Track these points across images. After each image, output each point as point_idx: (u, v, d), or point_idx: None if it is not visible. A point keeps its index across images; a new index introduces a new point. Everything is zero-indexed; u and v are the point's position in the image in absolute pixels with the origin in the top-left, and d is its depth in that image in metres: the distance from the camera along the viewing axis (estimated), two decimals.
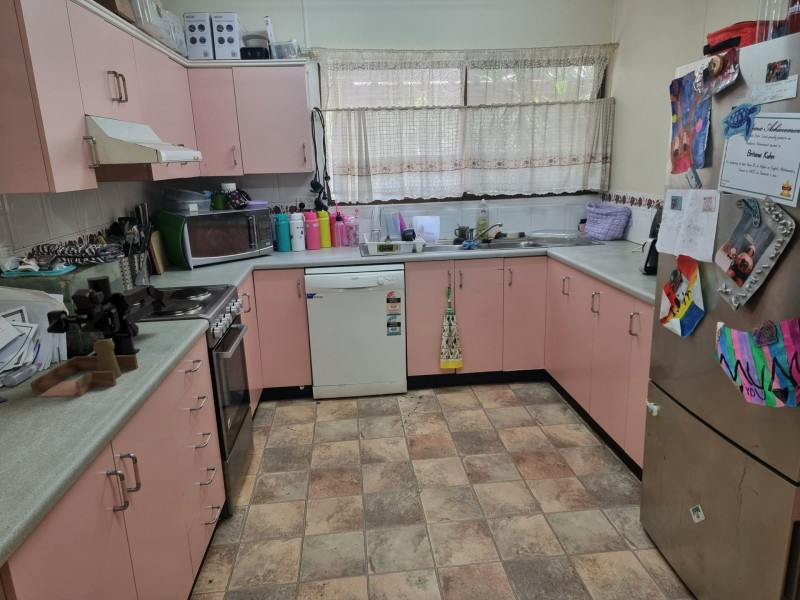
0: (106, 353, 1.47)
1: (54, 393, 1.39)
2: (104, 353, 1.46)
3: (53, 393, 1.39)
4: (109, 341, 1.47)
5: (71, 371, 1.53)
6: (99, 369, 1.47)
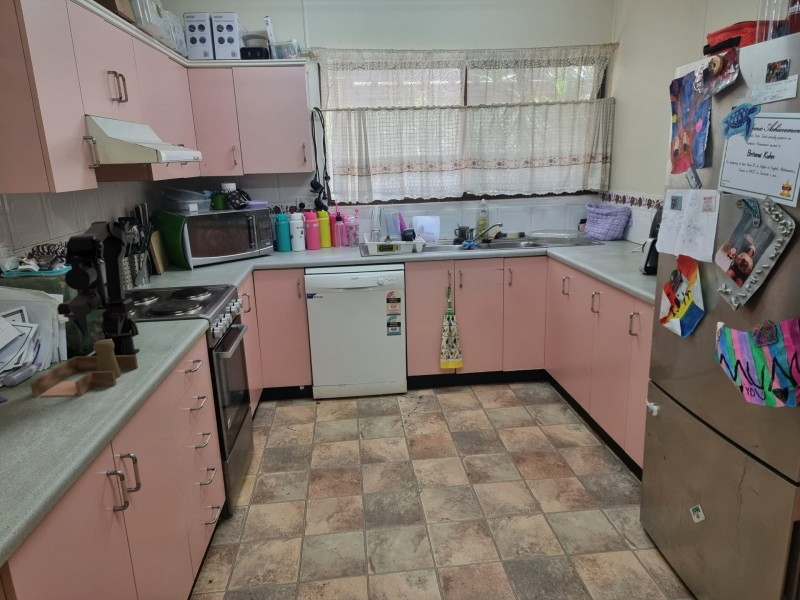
0: (106, 353, 1.47)
1: (54, 393, 1.39)
2: (104, 353, 1.46)
3: (53, 393, 1.39)
4: (109, 341, 1.47)
5: (71, 371, 1.53)
6: (99, 369, 1.47)
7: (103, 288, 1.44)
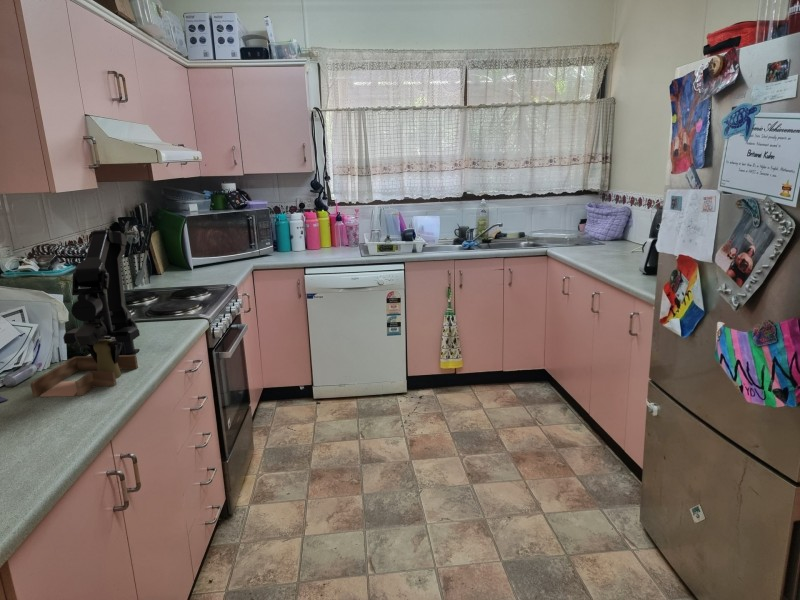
0: (106, 353, 1.47)
1: (54, 393, 1.39)
2: (104, 353, 1.46)
3: (53, 393, 1.39)
4: (109, 341, 1.47)
5: (71, 371, 1.53)
6: (99, 369, 1.47)
7: (108, 317, 1.46)
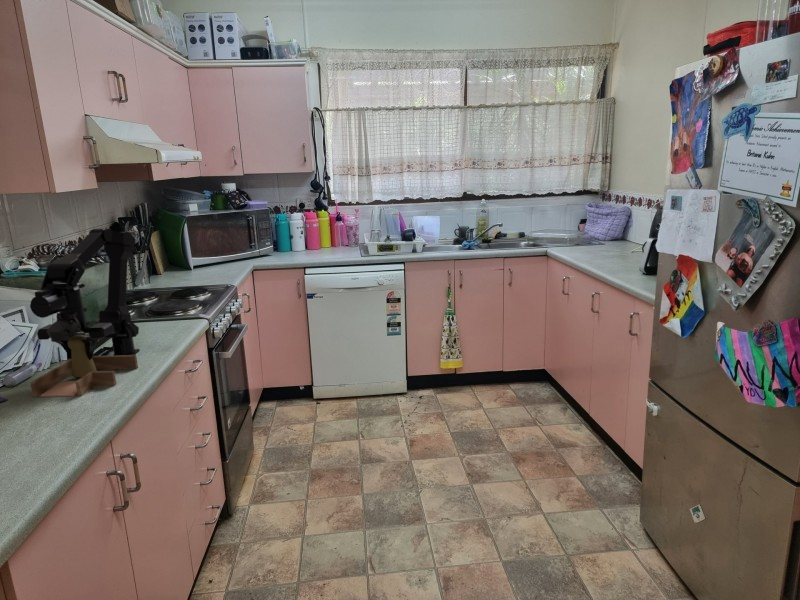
0: (80, 349, 1.46)
1: (54, 393, 1.39)
2: (78, 349, 1.46)
3: (53, 393, 1.39)
4: (83, 337, 1.47)
5: (71, 371, 1.53)
6: (73, 365, 1.47)
7: (82, 313, 1.45)
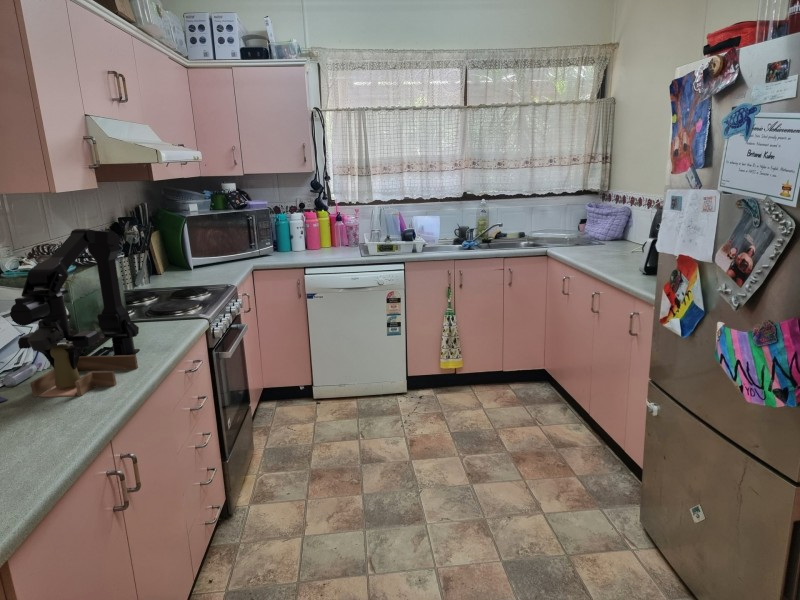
0: (63, 358, 1.39)
1: (54, 393, 1.39)
2: (61, 358, 1.39)
3: (53, 393, 1.39)
4: (66, 345, 1.40)
5: None
6: (56, 375, 1.40)
7: (66, 321, 1.38)
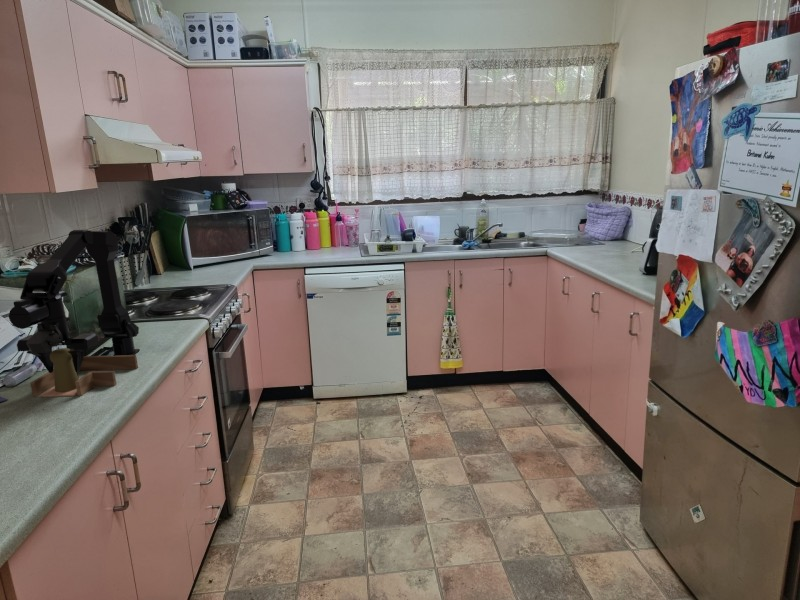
0: (63, 363, 1.39)
1: (54, 393, 1.39)
2: (61, 363, 1.39)
3: (53, 393, 1.39)
4: (66, 350, 1.40)
5: None
6: (56, 380, 1.39)
7: (65, 323, 1.38)
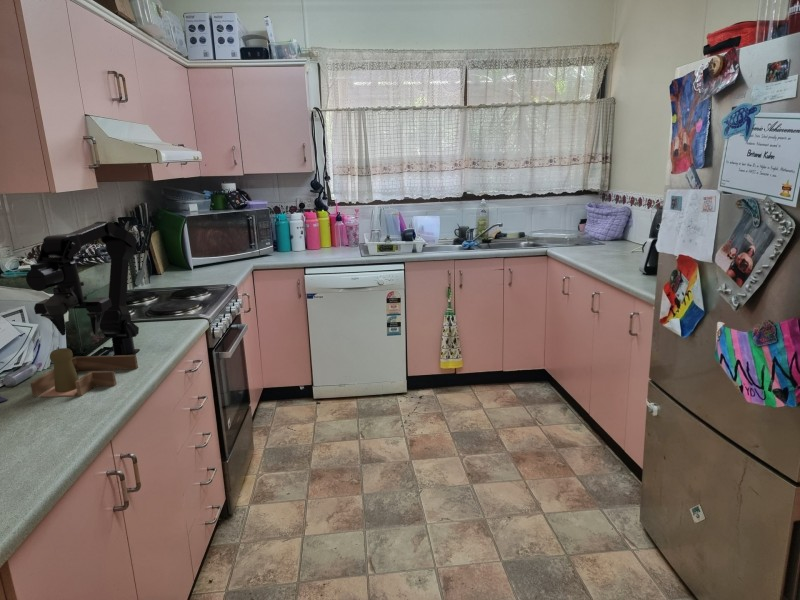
0: (63, 363, 1.39)
1: (54, 393, 1.39)
2: (61, 363, 1.39)
3: (53, 393, 1.39)
4: (66, 350, 1.40)
5: None
6: (56, 380, 1.39)
7: (79, 287, 1.44)
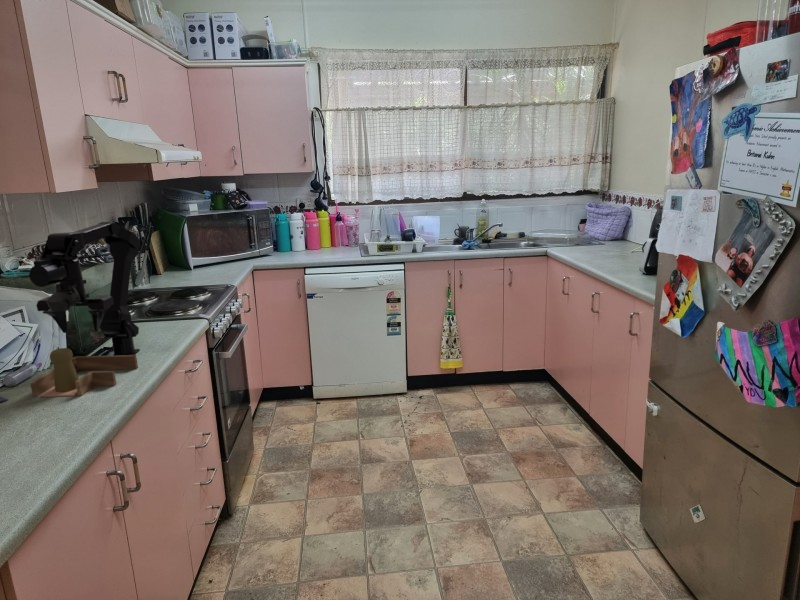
0: (63, 363, 1.39)
1: (54, 393, 1.39)
2: (61, 363, 1.39)
3: (53, 393, 1.39)
4: (66, 350, 1.40)
5: None
6: (56, 380, 1.39)
7: (82, 285, 1.45)
